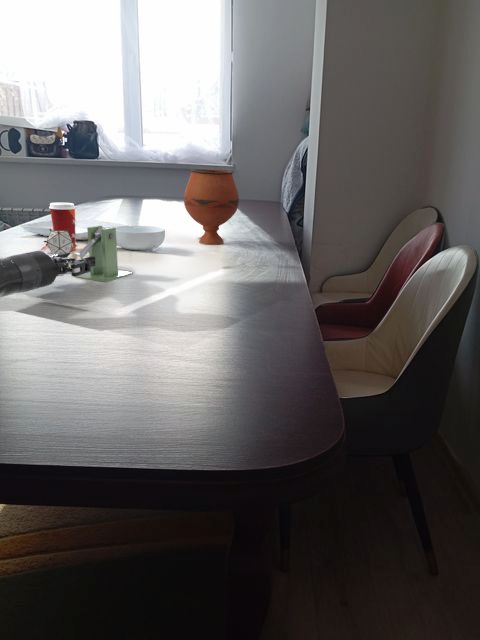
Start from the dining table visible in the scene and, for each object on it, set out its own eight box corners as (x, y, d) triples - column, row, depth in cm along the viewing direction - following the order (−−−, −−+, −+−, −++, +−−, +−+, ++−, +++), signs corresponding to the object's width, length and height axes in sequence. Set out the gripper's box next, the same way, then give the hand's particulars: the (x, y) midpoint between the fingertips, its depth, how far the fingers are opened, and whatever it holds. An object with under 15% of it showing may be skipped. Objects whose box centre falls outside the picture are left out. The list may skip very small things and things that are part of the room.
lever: (79, 272, 117) (73, 259, 115) (66, 270, 118) (61, 257, 116) (113, 238, 126) (109, 226, 124) (101, 237, 127) (96, 224, 125)
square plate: (131, 234, 193) (131, 224, 192) (79, 244, 170) (78, 232, 169) (75, 226, 203) (75, 216, 202) (19, 235, 180) (18, 223, 178)
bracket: (105, 286, 122) (102, 231, 118) (75, 281, 125) (70, 227, 121) (132, 277, 132) (130, 226, 127) (104, 272, 135) (101, 223, 130)
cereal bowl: (175, 250, 169) (175, 228, 166) (142, 258, 155) (141, 234, 152) (135, 243, 176) (134, 222, 173) (100, 250, 162) (98, 227, 159)
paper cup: (83, 250, 160) (80, 204, 155) (59, 252, 155) (55, 205, 150) (72, 246, 165) (68, 201, 160) (48, 248, 160) (43, 202, 155)
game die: (66, 268, 153) (83, 239, 155) (65, 263, 145) (82, 233, 147) (38, 252, 151) (55, 223, 152) (34, 247, 143) (52, 216, 144)
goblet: (175, 244, 180) (174, 168, 171) (196, 236, 197) (196, 168, 188) (227, 249, 175) (229, 172, 166) (243, 241, 193) (246, 171, 184)
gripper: (52, 258, 101) (106, 246, 116) (-3, 249, 106) (56, 239, 121) (55, 295, 104) (108, 278, 119) (2, 285, 109) (59, 270, 124)
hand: (82, 259), depth 120 cm, fingers open, 6 cm apart
